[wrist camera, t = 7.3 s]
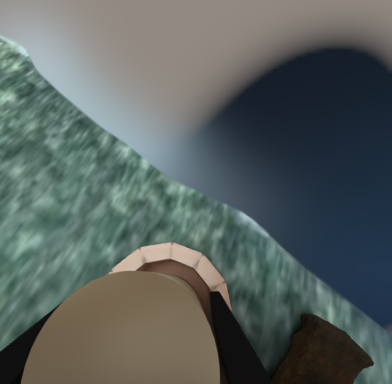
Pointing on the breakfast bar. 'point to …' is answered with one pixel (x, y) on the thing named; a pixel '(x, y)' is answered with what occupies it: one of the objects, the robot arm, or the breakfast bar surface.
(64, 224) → the breakfast bar surface
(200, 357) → the birch peg
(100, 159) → the breakfast bar surface
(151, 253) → the terracotta cup
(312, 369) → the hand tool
